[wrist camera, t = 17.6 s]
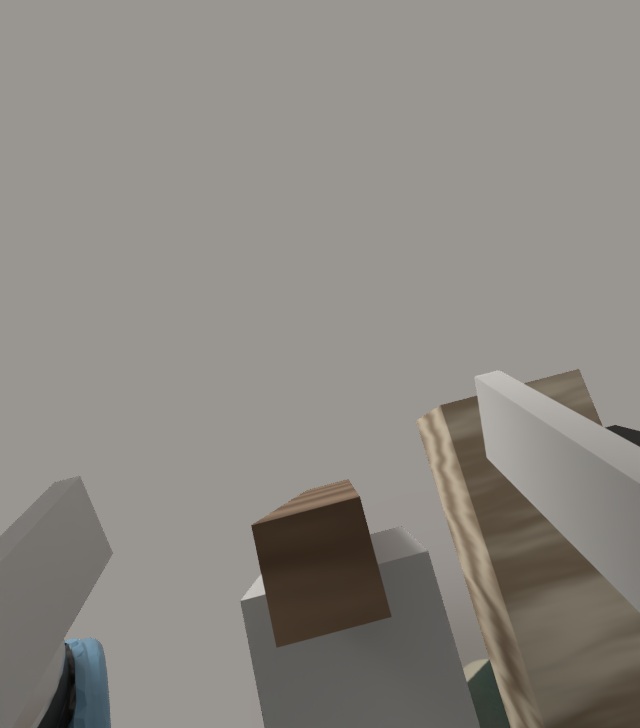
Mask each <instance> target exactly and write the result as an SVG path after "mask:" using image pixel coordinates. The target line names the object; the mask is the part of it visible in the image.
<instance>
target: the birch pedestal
mask: <svg viewBox="0 0 640 728" xmlns="http://www.w3.org/2000/svg"><path fill="white" fill-rule="evenodd" d="M524 384H525V385H527V386H529V387H531V388H532V389H534V390H536V391H538V392H540V393H542V394H543V395H545V396H547V397H549V398H551V399H553V400H554V401H556V402H558V403H560V404H562V405H564V406H566V407H567V408H569V409H571V410H573V411H575V412H577V413H578V414H580V415H582V416H584V417H586V418H588V419H589V420H591V421H593V422H595V423H597V424H599V425H600V426H602V424H601V421H600V419H599V416H598V414H597V412H596V409H595V407H594V404H593V402H592V399H591V397H590V395H589V392H588V390H587V387H586V385H585V383H584V380H583V378H582V375H581V373H580V370H579V369H577V370H574V371H570V372H566V373H562V374H558V375H554V376H551V377H547V378H543V379H540V380H535V381H531V382H528V383H524ZM416 422H417V425H418V429H419V432H420V435H421V438H422V441H423V445H424V448H425V451H426V454H427V458H428V461H429V464H430V467H431V471H432V473H433V477H434V480H435V484H436V487H437V490H438V493H439V496H440V500H441V503H442V506H443V509H444V513H445V516H446V519H447V522H448V526H449V529H450V532H451V535H452V539H453V542H454V545H455V548H456V551H457V555H458V558H459V561H460V564H461V568H462V571H463V574H464V577H465V581H466V584H467V587H468V590H469V594H470V597H471V600H472V603H473V607H474V610H475V613H476V616H477V620H478V623H479V626H480V629H481V633H482V636H483V639H484V642H485V645H486V649H487V652H488V655H489V658H490V662H491V665H492V668H493V671H494V675H495V678H496V681H497V684H498V688H499V691H500V694H501V697H502V701H503V704H504V707H505V710H506V714H507V717H508V720H509V723H510V726H511V728H640V613H639V612H638V611H637V610H636V609H635V607H634V606H633V605H632V604H631V603H630V602H629V601H628V600H627V599H626V598H625V597H624V596H623V595H622V594H621V593H620V592H619V591H618V590H617V589H616V588H615V587H614V586H613V585H612V584H611V583H610V582H609V581H608V580H607V579H606V578H605V577H604V576H603V575H602V574H601V573H600V572H599V571H598V570H597V569H596V568H595V567H594V566H593V565H592V564H591V563H590V562H589V561H588V560H587V559H586V558H585V557H584V556H583V555H582V554H581V553H580V552H579V551H578V550H577V549H576V548H575V547H574V546H573V545H572V544H571V543H570V542H569V541H568V540H567V539H566V538H565V537H564V536H563V535H562V534H561V533H560V532H559V531H558V530H557V529H556V528H555V526H554V525H553V524H552V523H551V522H550V521H549V520H548V519H547V518H546V517H545V516H544V515H543V514H542V513H541V512H540V511H539V510H538V509H537V508H536V507H535V506H534V505H533V504H532V503H531V502H530V501H529V500H528V499H527V498H526V497H525V496H524V495H523V494H522V493H521V492H520V491H519V490H518V489H517V488H516V487H515V486H514V485H513V484H512V483H511V482H510V481H509V480H508V479H507V478H506V477H505V476H504V475H503V474H502V473H501V472H500V471H499V470H498V469H497V468H496V467H495V466H494V465H493V464H492V463H491V462H490V461H489V460H488V459H487V457H486V450H485V443H484V437H483V430H482V424H481V417H480V410H479V404H478V397H477V396H474V397H470V398H467V399H463V400H459V401H455V402H452V403H448V404H444V405H441V406H439V407H437V408H435V409H434V410H432V411H431V412H429V413H428V414H426V415H424V416H423V417H421V418H420V419H418V420H417V421H416ZM602 427H603V426H602Z"/></svg>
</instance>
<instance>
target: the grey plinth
mask: <svg viewBox="0 0 640 728" xmlns="http://www.w3.org/2000/svg"><path fill="white" fill-rule="evenodd" d="M370 537H371V541H372V545H373V548H374V552H375V556H376V560H377V563H378V567H379V571H380V575H381V578H382V582H383V586H384V590H385V593H386V597H387V601H388V605H389V609H390V612H391V616H392V617H390V618H386V619H382V620H378V621H375V622H371V623H367V624H364V625H360V626H356V627H352V628H349V629H345V630H341V631H337V632H334V633H330V634H326V635H323V636H319V637H315V638H311V639H308V640H304V641H300V642H297V643H293V644H289V645H285V646H282V647H278V648H276V643H275V638H274V633H273V628H272V623H271V619H270V614H269V609H268V604H267V599H266V594H265V589H264V584H263V580H262V575H260V576H259V577H258V578H257V580H256V581H255V582H254V584H253V585H252V586H251V588H250V589H249V590H248V592H247V593H246V594H245V596H244V597H243V598H242V600H241V607H242V611H243V617H244V622H245V628H246V633H247V638H248V643H249V648H250V653H251V658H252V664H253V669H254V674H255V680H256V685H257V690H258V695H259V700H260V705H261V711H262V716H263V721H264V727H265V728H480V726H479V723H478V719H477V716H476V712H475V709H474V706H473V702H472V699H471V695H470V692H469V689H468V685H467V682H466V678H465V675H464V672H463V668H462V665H461V662H460V658H459V655H458V651H457V648H456V645H455V641H454V638H453V634H452V631H451V628H450V624H449V621H448V617H447V614H446V610H445V607H444V604H443V600H442V597H441V594H440V590H439V587H438V583H437V580H436V577H435V573H434V570H433V566H432V563H431V559H430V556H429V553H428V550H427V549H426V548H424V547H423V546H422V545H421V544H420V543H419V542H418V541H417V540H416V539H415V538H414V537H413V536H412V535H410V533H408V532H407V531H406V530H405V529H404V528H403V527H402V526H401V527H397V528H393V529H389V530H386V531H382V532H378V533H374V534H371V535H370Z"/></svg>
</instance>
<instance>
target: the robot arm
mask: <svg viewBox="0 0 640 728" xmlns="http://www.w3.org/2000/svg"><path fill="white" fill-rule="evenodd" d="M475 384H476V391H477V397H478V404H479V410H480V417H481V424H482V430H483V437H484V443H485V450H486V457H487V459H488V460H489V461H490V462H491V463H492V464H493V465H494V466H495V467H496V468H497V469H498V470H499V471H500V472H501V473H502V474H503V475H504V476H505V477H506V478H507V479H508V480H509V481H510V482H511V483H512V484H513V485H514V486H515V487H516V488H517V489H518V490H519V491H520V492H521V493H522V494H523V495H524V496H525V497H526V498H527V499H528V500H529V501H530V502H531V503H532V504H533V505H534V506H535V507H536V508H537V509H538V510H539V511H540V512H541V513H542V514H543V515H544V516H545V517H546V518H547V519H548V520H549V521H550V522H551V523H552V524H553V525H554V526H555V528H556V529H557V530H558V531H559V532H560V533H561V534H562V535H563V536H564V537H565V538H566V539H567V540H568V541H569V542H570V543H571V544H572V545H573V546H574V547H575V548H576V549H577V550H578V551H579V552H580V553H581V554H582V555H583V556H584V557H585V558H586V559H587V560H588V561H589V562H590V563H591V564H592V565H593V566H594V567H595V568H596V569H597V570H598V571H599V572H600V573H601V574H602V575H603V576H604V577H605V578H606V579H607V580H608V581H609V582H610V583H611V584H612V585H613V586H614V587H615V588H616V589H617V590H618V591H619V592H620V593H621V594H622V595H623V596H624V597H625V598H626V599H627V600H628V601H629V602H630V603H631V604H632V605H633V606H634V607H635V609H636V610H637V611H638V612H639V613H640V431H636V430H632V429H628V428H625V427H621V426H617V425H614V426H610V427H606V428H604V427H602V426H600V425H599V424H597V423H595V422H593V421H591V420H589V419H588V418H586V417H584V416H582V415H580V414H578V413H577V412H575V411H573V410H571V409H569V408H567V407H566V406H564V405H562V404H560V403H558V402H556V401H554V400H553V399H551V398H549V397H547V396H545V395H543V394H542V393H540V392H538V391H536V390H534V389H532V388H531V387H529V386H527V385H525V384H523V383H521V382H520V381H518V380H516V379H514V378H512V377H510V376H509V375H507V374H505V373H503V372H501V371H499V370H498V371H494V372H490V373H486V374H482V375H479V376H475ZM112 554H113V553H112V550H111V548H110V546H109V543H108V541H107V538H106V536H105V534H104V531H103V529H102V527H101V524H100V522H99V520H98V517H97V515H96V513H95V510H94V508H93V506H92V503H91V501H90V498H89V497H88V494H87V491H86V489H85V487H84V484H83V482H82V480H81V477H80V476H79V477H75V478H70V479H67V480H62V481H59V482H55V483H54V484H53V485H52V486H51V487H50V488H49V489H48V490H47V491H46V492H45V493H43V495H41V496H40V498H38V499H37V500H36V502H34V503H33V504H32V505H31V506H30V507H29V508H28V509H27V510H26V511H25V512H24V513H23V514H22V516H20V517H19V518H18V519H17V520H16V521H15V522H14V523H13V524H12V525H11V526H10V527H9V528H8V529H7V530H6V531H5V532H4V533H3V534H2V535H1V536H0V728H111V723H110V706H109V705H110V704H109V691H108V679H107V670H106V662H105V655H104V651H103V647H102V645H101V643H100V642H99V641H98V640H96V639H93V638H85V639H81V640H79V639H76V638H72V639H70V640H68V641H64V637H65V636H66V634H67V632H68V630H69V628H70V627H71V625H72V623H73V622H74V620H75V618H76V616H77V615H78V613H79V611H80V610H81V608H82V606H83V604H84V602H85V601H86V599H87V597H88V596H89V594H90V592H91V590H92V589H93V587H94V585H95V583H96V582H97V580H98V578H99V577H100V575H101V573H102V571H103V570H104V568H105V566H106V564H107V563H108V561H109V559H110V557H111V556H112Z"/></svg>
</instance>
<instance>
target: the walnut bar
mask: <svg viewBox="0 0 640 728" xmlns="http://www.w3.org/2000/svg"><path fill="white" fill-rule="evenodd" d="M252 531H253V535H254V540H255V545H256V550H257V555H258V560H259V565H260V570H261V575H262V580H263V584H264V589H265V594H266V599H267V604H268V609H269V614H270V619H271V623H272V628H273V633H274V638H275V643H276V648H278V647H282V646H285V645H289V644H293V643H297V642H300V641H304V640H308V639H311V638H315V637H319V636H323V635H326V634H330V633H334V632H337V631H341V630H345V629H349V628H352V627H356V626H360V625H364V624H367V623H371V622H375V621H378V620H382V619H386V618H390V617H392V616H391V612H390V609H389V605H388V601H387V597H386V593H385V590H384V586H383V582H382V578H381V575H380V571H379V567H378V563H377V560H376V556H375V552H374V548H373V545H372V541H371V537H370V534H369V530H368V526H367V522H366V519H365V515H364V511H363V507H362V503H361V500H360V496H359V495H358V493H357V492H356V490H355V489H354V487H353V486H352V484H351V483H350V481H349V480H344V481H340V482H336V483H333V484H329V485H325V486H321V487H318V488H314V489H310V490H307V491H305V492H303V493H302V494H300V495H299V496H297V497H296V498H294V499H292V500H291V501H289V502H288V503H286V504H284V505H283V506H281V507H280V508H278V509H277V510H275V511H273V512H272V513H270V514H269V515H267V516H265V517H264V518H262V519H261V520H259V521H257V522H256V523H254V524H253V525H252Z"/></svg>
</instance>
